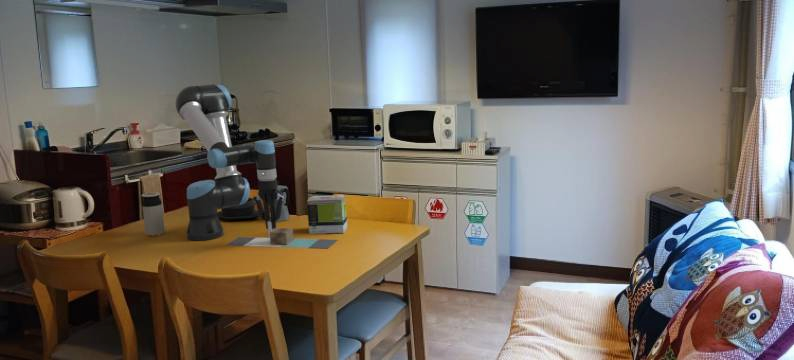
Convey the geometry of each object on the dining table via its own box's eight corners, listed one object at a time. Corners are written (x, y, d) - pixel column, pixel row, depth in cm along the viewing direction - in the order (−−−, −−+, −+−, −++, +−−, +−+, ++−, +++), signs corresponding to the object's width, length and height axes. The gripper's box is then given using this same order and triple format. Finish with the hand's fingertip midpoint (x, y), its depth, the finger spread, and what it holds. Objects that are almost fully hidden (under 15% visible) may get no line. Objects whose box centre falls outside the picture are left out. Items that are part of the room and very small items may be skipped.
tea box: (347, 227, 287) (345, 194, 285) (343, 233, 277) (341, 199, 275) (313, 228, 289) (311, 195, 286) (308, 234, 279) (306, 200, 276)
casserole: (272, 214, 318) (270, 197, 316) (248, 224, 301) (247, 206, 300) (230, 211, 328) (228, 195, 326) (205, 220, 311) (203, 203, 310)
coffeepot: (263, 219, 309) (260, 181, 305) (280, 215, 315) (277, 178, 312) (282, 224, 298) (279, 185, 294) (299, 220, 304) (296, 182, 301)
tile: (243, 247, 265) (242, 245, 265) (256, 239, 276) (256, 237, 276) (280, 248, 261) (280, 246, 261) (291, 239, 272) (291, 238, 272)
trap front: (308, 249, 258) (308, 247, 258) (319, 240, 270) (319, 239, 270) (328, 249, 256) (327, 248, 256) (337, 241, 268) (337, 239, 268)
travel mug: (149, 237, 284) (145, 196, 281) (142, 234, 290) (138, 194, 287) (167, 233, 289) (163, 193, 286) (160, 230, 295) (156, 191, 292)
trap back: (224, 246, 267) (224, 245, 267) (238, 238, 278) (238, 237, 278) (243, 247, 265) (242, 245, 265) (256, 239, 276) (256, 237, 276)
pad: (280, 248, 261) (280, 246, 261) (291, 239, 272) (291, 238, 272) (308, 249, 258) (308, 247, 258) (319, 240, 270) (319, 239, 270)
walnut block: (270, 244, 265) (269, 232, 264) (277, 239, 271) (276, 228, 270) (286, 245, 263) (286, 232, 262) (293, 240, 270) (292, 228, 269)
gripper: (248, 181, 261) (253, 238, 265) (278, 181, 258) (283, 239, 262) (256, 177, 268) (261, 233, 273) (286, 177, 265) (290, 234, 269)
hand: (271, 236), depth 267 cm, fingers closed
